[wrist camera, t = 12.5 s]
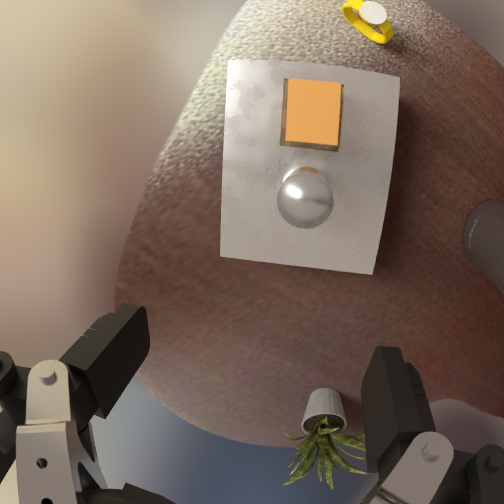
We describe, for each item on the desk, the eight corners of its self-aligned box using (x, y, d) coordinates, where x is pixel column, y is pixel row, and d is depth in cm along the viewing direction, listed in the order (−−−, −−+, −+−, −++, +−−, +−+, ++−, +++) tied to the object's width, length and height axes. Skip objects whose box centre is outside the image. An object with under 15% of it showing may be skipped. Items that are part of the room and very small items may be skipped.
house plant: (324, 433, 51) (320, 505, 36) (265, 406, 50) (249, 484, 35) (379, 395, 45) (390, 476, 30) (318, 361, 44) (315, 452, 29)
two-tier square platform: (392, 87, 28) (430, 70, 18) (368, 259, 37) (389, 312, 26) (233, 71, 31) (199, 46, 20) (226, 242, 39) (194, 288, 28)
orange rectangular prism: (331, 96, 29) (341, 83, 20) (328, 141, 31) (337, 145, 22) (293, 93, 30) (288, 78, 21) (291, 137, 32) (285, 140, 23)
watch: (388, 38, 26) (405, 26, 21) (375, 52, 27) (390, 41, 22) (348, 4, 25) (358, -13, 20) (334, 18, 26) (342, 1, 21)
